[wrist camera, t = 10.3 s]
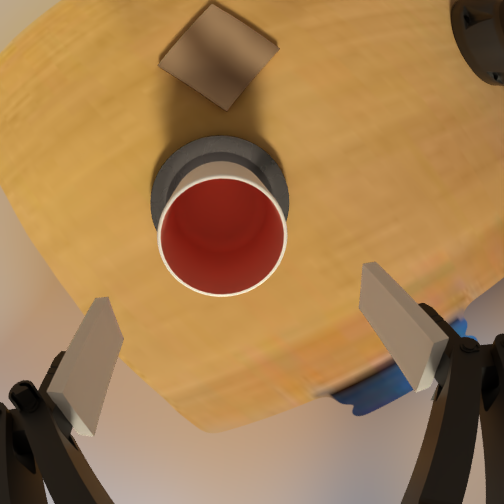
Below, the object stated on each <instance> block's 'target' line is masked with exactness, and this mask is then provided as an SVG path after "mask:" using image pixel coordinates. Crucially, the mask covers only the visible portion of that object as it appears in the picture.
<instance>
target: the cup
mask: <svg viewBox="0 0 504 504" xmlns="http://www.w3.org/2000/svg"><path fill="white" fill-rule="evenodd" d="M157 241H158V248H159V252H160V255H161V258H162V260H163V262H164V264H165V266H166V267H167V269H168V270H169V272H170V273H171V274H172V275H173V276H174V277H175V278H176V279H177V280H178V281H179V282H180V283H182V284H183V285H185V286H186V287H188V288H189V289H191V290H193V291H196V292H198V293H201V294H205V295H210V296H219V297H221V296H233V295H238V294H242V293H245V292H247V291H250V290H252V289H254V288H256V287H257V286H259V285H260V284H262V283H263V282H264V281H265V280H267V279H268V278H269V277H270V276H271V275H272V274H273V272H274V271H275V270H276V268H277V267H278V265H279V264H280V262H281V260H282V258H283V255H284V252H285V249H286V244H287V225H286V220H285V217H284V214H283V212H282V209H281V207H280V206H279V204H278V202H277V201H276V200H275V198H274V197H273V196H272V194H271V193H270V192H269V191H268V189H267V188H266V187H265V186H264V184H263V183H262V182H261V181H260V180H259V178H258V177H257V176H256V175H255V174H254V173H253V172H251V171H250V170H249V169H247V168H245V167H243V166H241V165H239V164H236V163H232V162H226V161H215V162H209V163H206V164H203V165H200V166H198V167H196V168H195V169H193V170H192V171H190V172H189V173H188V174H187V175H186V176H185V177H184V178H183V179H182V180H181V182H180V183H179V185H178V186H177V188H176V189H175V191H174V193H173V194H172V196H171V197H170V199H169V201H168V202H167V204H166V206H165V208H164V210H163V212H162V214H161V217H160V220H159V224H158V230H157Z"/></svg>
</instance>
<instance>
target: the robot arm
mask: <svg viewBox="0 0 504 504" xmlns="http://www.w3.org/2000/svg"><path fill="white" fill-rule="evenodd" d="M452 27H453V32H454V36H455V39H456V42H457V44H458V47H459V49H460V51H461V53H462V55H463V57H464V59H465V60H466V62H467V64H468V65H469V66H470V68H471V69H472V70H473V72H474V73H475V74H476V75H477V76H478V77H479V78H480V79H482V80H483V81H484V82H486V83H488V84H490V85H499V86H504V0H458V1H457V2H456V3H455V4H454V6H453V9H452ZM359 309H360V310H361V312H362V313H363V315H364V316H365V317H366V319H367V320H368V322H369V323H370V325H371V326H372V328H373V329H374V331H375V332H376V333H377V335H378V336H379V338H380V339H381V341H382V342H383V344H384V345H385V347H386V348H387V350H388V351H389V353H390V354H391V356H392V357H393V359H394V360H395V362H396V363H397V365H398V366H399V368H400V369H401V371H402V372H403V374H404V375H405V377H406V379H407V380H408V382H409V383H410V385H411V386H412V388H413V389H414V391H415V392H419V391H422V390H424V389H427V388H429V387H430V386H431V383H432V382H433V379H434V378H435V379H436V380H437V382H438V386H437V388H436V390H435V392H434V394H433V397H432V399H431V400H434V401H433V406H432V410H431V414H430V418H429V422H428V425H427V429H426V433H425V436H424V440H423V443H422V446H421V450H420V453H419V456H418V459H417V462H416V465H415V468H414V471H413V473H412V476H411V479H410V482H409V484H408V487H407V490H406V492H405V494H404V497H403V499H402V502H401V504H462V502H463V498H464V494H465V490H466V487H467V483H468V478H469V474H470V469H471V464H472V459H473V454H474V448H475V442H476V435H477V428H478V419H479V415H480V422H481V429H482V438H483V447H484V459H485V474H486V475H485V476H486V504H504V334H499V335H497V336H496V338H495V340H494V342H493V344H488V345H480V344H479V343H478V342H477V341H476V340H474V339H472V338H469V337H462V338H461V337H460V336H459V335H458V334H457V333H456V332H455V331H454V330H453V328H452V327H451V326H450V325H449V324H448V323H447V322H446V321H444V319H443V318H442V317H441V316H440V315H439V314H438V313H437V312H436V311H435V310H434V309H433V308H432V307H430V306H428V305H427V304H425V303H420V304H417V303H416V302H415V301H414V300H413V299H412V298H411V297H410V296H409V294H408V293H407V292H406V291H405V290H404V289H403V288H402V287H401V286H400V285H399V284H398V283H397V282H396V281H395V280H394V279H393V278H392V277H391V276H390V275H389V274H388V273H387V272H386V271H385V270H384V269H383V268H382V267H381V266H380V265H378V264H377V263H376V262H370V263H364V264H363V267H362V280H361V291H360V301H359ZM123 340H124V338H123V336H122V333H121V330H120V328H119V325H118V323H117V320H116V317H115V315H114V312H113V309H112V306H111V304H110V301H109V298H108V297H102V298H95V300H94V302H93V303H92V305H91V307H90V308H89V310H88V312H87V314H86V315H85V317H84V319H83V321H82V323H81V325H80V326H79V328H78V330H77V332H76V334H75V335H74V337H73V339H72V341H71V343H70V345H69V347H68V349H67V351H61V352H60V353H59V354H58V355H57V356H56V357H55V358H54V360H53V362H52V364H51V368H49V370H48V372H47V374H46V376H45V378H44V380H43V382H42V384H41V386H40V388H39V390H37V389H36V388H35V386H34V385H33V383H32V382H31V381H28V380H26V381H24V380H23V381H21V382H18V383H17V384H15V385H14V386H13V387H12V388H11V390H10V392H9V399H10V401H11V402H12V403H13V405H14V406H15V407H16V409H11V410H8V409H7V407H6V406H5V405H4V404H3V403H1V402H0V504H48V502H47V498H46V493H45V488H44V483H43V480H44V482H45V484H46V486H47V488H48V491H49V493H50V495H51V497H52V499H53V501H54V503H55V504H114V502H113V501H112V500H111V498H110V497H109V495H108V494H107V492H106V491H105V489H104V488H103V486H102V485H101V483H100V482H99V480H98V479H97V477H96V476H95V474H94V472H93V471H92V469H91V467H90V466H89V464H88V462H87V461H86V459H85V457H84V455H83V454H82V452H81V450H80V448H79V447H78V445H77V443H76V441H75V439H74V438H73V436H72V435H71V434H70V433H71V430H72V427H73V428H74V429H75V430H76V432H77V433H78V434H79V435H85V436H94V435H95V431H96V427H97V424H98V420H99V416H100V413H101V409H102V406H103V402H104V399H105V396H106V392H107V389H108V386H109V382H110V379H111V376H112V373H113V370H114V367H115V364H116V360H117V358H118V355H119V352H120V349H121V346H122V343H123Z"/></svg>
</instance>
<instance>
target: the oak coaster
mask: <svg viewBox="0 0 504 504" xmlns="http://www.w3.org/2000/svg"><path fill="white" fill-rule="evenodd" d="M279 49H280V48H278V47H277V46H276V45H274V44H273V43H272V42H270V41H269V40H267V39H266V38H265V37H263V36H262V35H260V34H259V33H257V32H256V31H255V30H253V29H252V28H250V27H249V26H247V25H246V24H244V23H243V22H241V21H239V20H238V19H236V18H235V17H233V16H232V15H230V14H228V13H227V12H225V11H223V10H222V9H220V8H218V7H217V6H215V5H213V4H211V5H210V6H209V7H208V8H207V9H206V10H205V11H204V12H203V14H202V15H201V16H200V17H199V18H198V19H197V20H196V21H195V22H194V23H193V24H192V25H191V26H190V27H189V29H188V30H187V31H186V32H185V33H184V34H183V35H182V36H181V38H180V39H179V40H178V41H177V42H176V43H175V45H174V46H173V47H172V48H171V49H170V50H169V52H168V53H167V54H166V55H165V57H164V58H163V59H162V60H161V62H160V63H159V64H158V66H159V67H160V68H162V69H163V70H165V71H166V72H168V73H170V74H171V75H173V76H174V77H176V78H177V79H179V80H181V81H182V82H184V83H185V84H187V85H188V86H190V87H191V88H193V89H194V90H196V91H197V92H199V93H200V94H202V95H203V96H205V97H206V98H208V99H209V100H211V101H212V102H213V103H215V104H216V105H218V106H219V107H221V108H222V109H223V110H225V111H227V110H228V109H229V108H230V106H231V105H232V104H233V103H234V102H235V100H236V99H237V98H238V97H239V95H240V94H241V93H242V92H243V91H244V89H245V88H246V87H247V86H248V85H249V83H250V82H251V81H252V80H253V79H254V78H255V76H256V75H257V74H258V73H259V72H260V71H261V70H262V68H263V67H264V66H265V65H266V64H267V63H268V62H269V61H270V59H271V58H272V57H273V56H274V55H275V54H276V53H277V52H278V51H279Z"/></svg>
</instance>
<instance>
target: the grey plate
mask: <svg viewBox="0 0 504 504" xmlns="http://www.w3.org/2000/svg"><path fill="white" fill-rule="evenodd" d="M215 161H226V162H232V163H236V164H239V165H241V166H243V167H245V168H247V169H249V170H250V171H251V172H253V173H254V174H255V175H256V176H257V177H258V178H259V180H260V181H261V182H262V183H263V184H264V186H265V187H266V188H267V189H268V191H269V192H270V193H271V194H272V196H273V197H274V198H275V200H276V201H277V202H278V204H279V206H280V207H281V209H282V212H283V214H284V217H285V220H287V216H288V211H289V193H288V187H287V184H286V181H285V178H284V176H283V174H282V171H281V170H280V168H279V167H278V165H277V163H276V162H275V161H274V160H273V159H272V158H271V156H270V155H268V154H267V153H266V152H265V151H264V150H263V149H261V148H260V147H258V146H257V145H255V144H253V143H251V142H249V141H247V140H244V139H241V138H238V137H233V136H224V135H216V136H208V137H204V138H200V139H197V140H194V141H192V142H190V143H188V144H186V145H184V146H183V147H181V148H180V149H179V150H177V151H176V152H174V153H173V154H172V155H171V156H170V157H169V158H168V159H167V161H166V162H165V163H164V164H163V166H162V167H161V169H160V171H159V172H158V174H157V176H156V179H155V181H154V184H153V188H152V192H151V214H152V219H153V223H154V226H155V228H156V230H158V224H159V220H160V217H161V214H162V212H163V210H164V208H165V206H166V204H167V202H168V201H169V199H170V197H171V196H172V194H173V193H174V191H175V189H176V188H177V186H178V185H179V183H180V182H181V180H182V179H183V178H184V177H185V176H186V175H187V174H188V173H189V172H190V171H192V170H193V169H195V168H196V167H198V166H200V165H203V164H206V163H209V162H215Z"/></svg>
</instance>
